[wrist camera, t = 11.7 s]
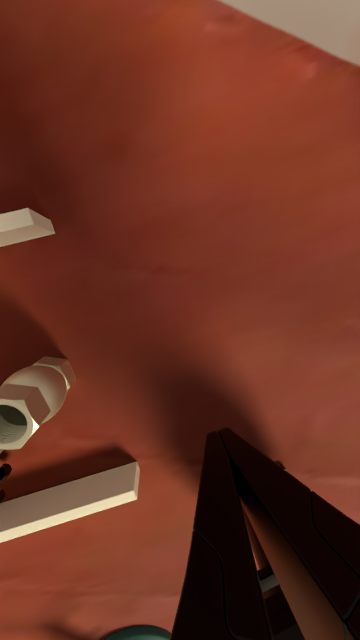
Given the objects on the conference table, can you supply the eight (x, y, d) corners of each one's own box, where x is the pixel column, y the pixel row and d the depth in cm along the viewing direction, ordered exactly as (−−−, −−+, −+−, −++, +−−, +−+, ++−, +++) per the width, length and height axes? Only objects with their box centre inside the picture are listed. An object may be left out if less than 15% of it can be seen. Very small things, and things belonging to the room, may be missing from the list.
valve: (36, 334, 18) (-46, 435, 19) (-31, 365, 12) (-149, 516, 13) (100, 378, 20) (21, 471, 20) (73, 428, 13) (-41, 560, 14)
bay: (139, 469, 22) (137, 499, 19) (-17, 517, 21) (-45, 556, 18) (50, 220, 16) (28, 207, 14) (-162, 270, 16) (-235, 268, 13)
